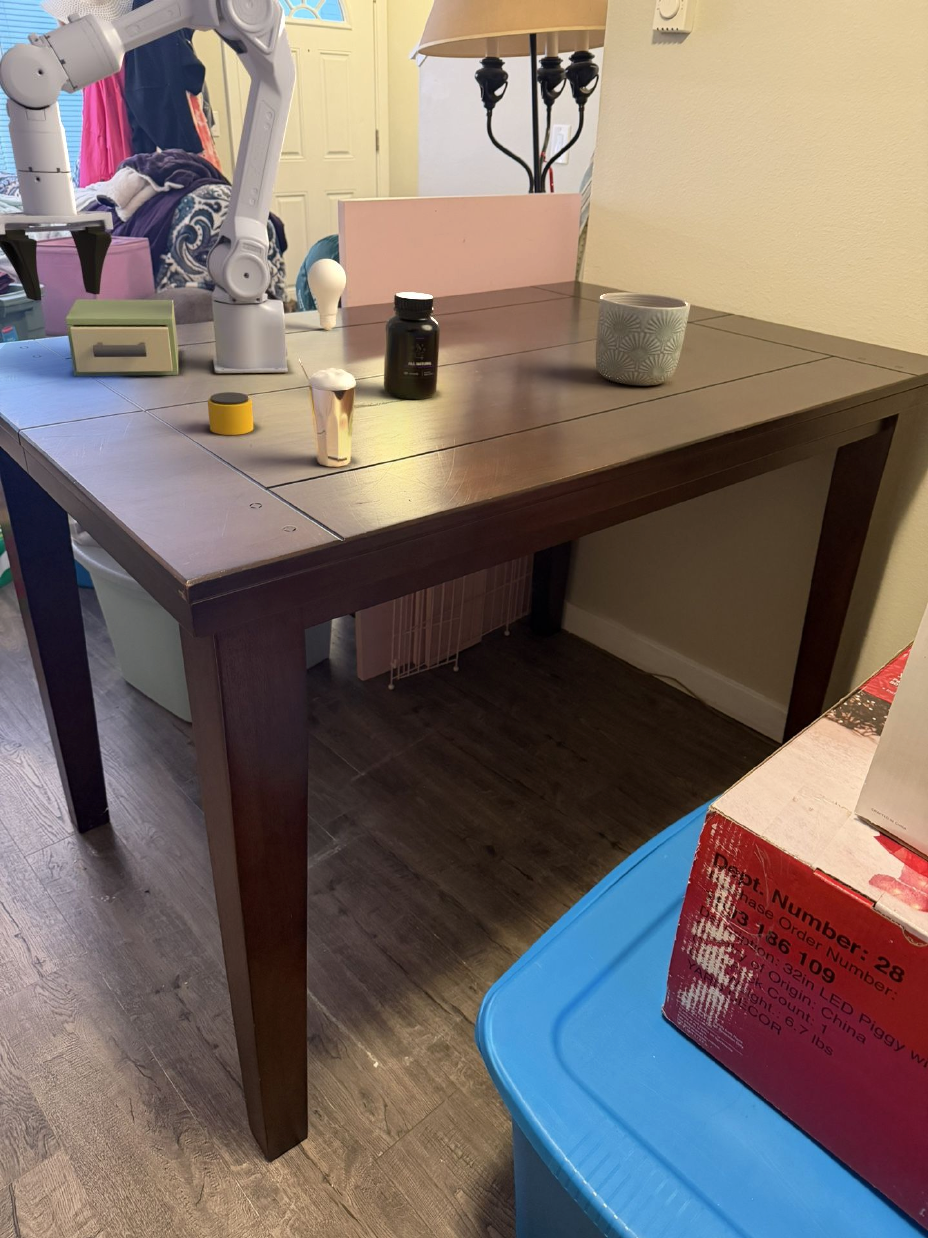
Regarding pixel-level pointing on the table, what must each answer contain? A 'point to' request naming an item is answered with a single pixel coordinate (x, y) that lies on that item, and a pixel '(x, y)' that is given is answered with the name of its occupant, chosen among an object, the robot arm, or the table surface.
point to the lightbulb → (327, 289)
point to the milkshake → (332, 414)
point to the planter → (639, 337)
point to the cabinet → (124, 315)
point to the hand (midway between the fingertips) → (64, 296)
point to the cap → (230, 413)
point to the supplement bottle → (411, 348)
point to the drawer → (121, 348)
